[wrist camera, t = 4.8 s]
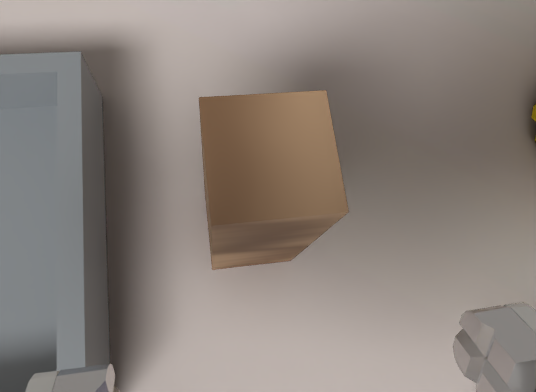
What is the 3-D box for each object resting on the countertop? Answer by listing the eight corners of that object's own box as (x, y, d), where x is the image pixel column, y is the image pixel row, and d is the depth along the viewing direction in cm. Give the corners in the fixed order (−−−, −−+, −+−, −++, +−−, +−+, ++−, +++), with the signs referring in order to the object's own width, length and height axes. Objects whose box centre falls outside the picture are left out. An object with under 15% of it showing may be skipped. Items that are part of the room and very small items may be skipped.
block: (279, 186, 23) (326, 90, 14) (290, 260, 22) (348, 212, 13) (205, 193, 23) (199, 97, 13) (212, 269, 22) (211, 225, 12)
